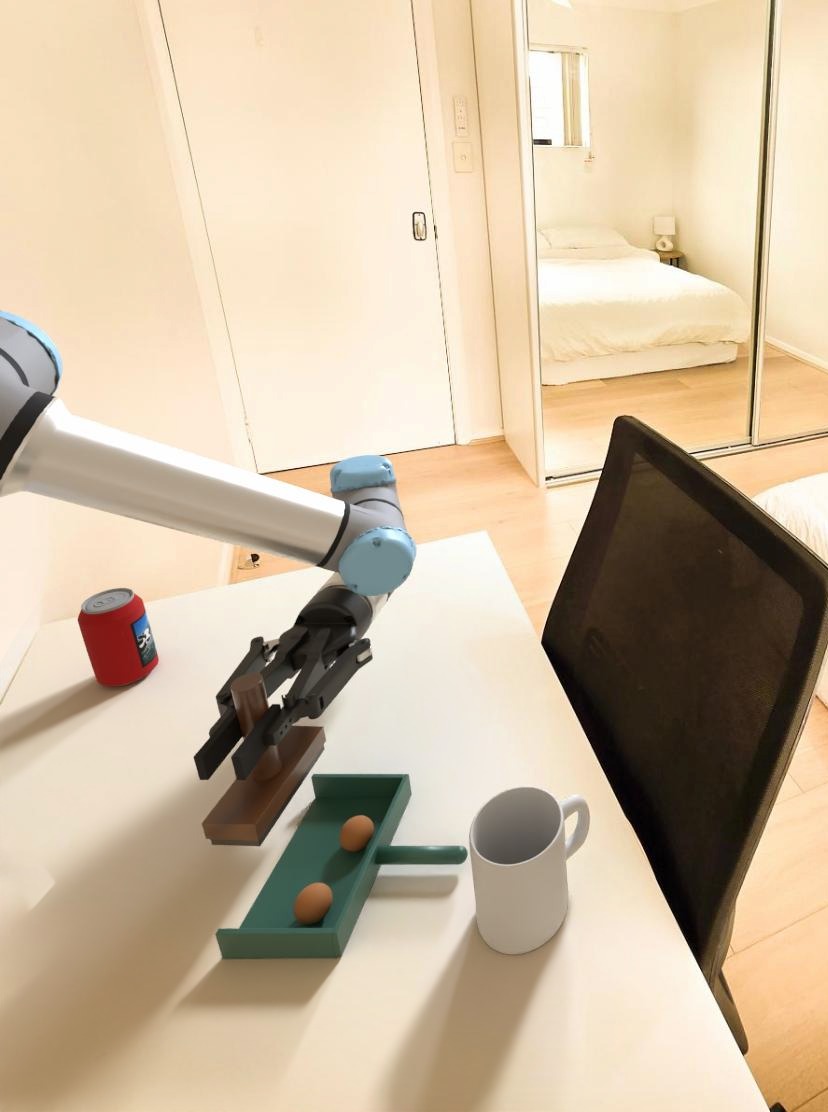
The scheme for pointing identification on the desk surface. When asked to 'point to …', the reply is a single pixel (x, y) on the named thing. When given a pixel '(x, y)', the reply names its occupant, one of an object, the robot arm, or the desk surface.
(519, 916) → the mug
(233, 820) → the brush
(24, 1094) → the desk surface
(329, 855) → the dustpan
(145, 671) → the beverage can
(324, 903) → the brown egg
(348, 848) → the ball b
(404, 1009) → the desk surface
